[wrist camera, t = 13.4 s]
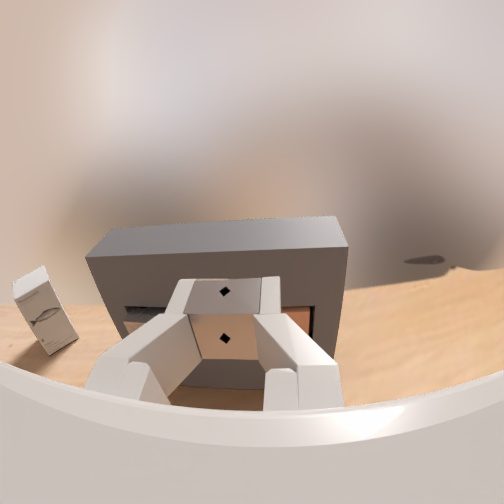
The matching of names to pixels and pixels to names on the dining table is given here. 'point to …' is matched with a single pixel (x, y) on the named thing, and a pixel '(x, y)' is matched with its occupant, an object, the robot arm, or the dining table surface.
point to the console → (227, 275)
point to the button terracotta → (298, 316)
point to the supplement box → (43, 310)
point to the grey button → (141, 316)
